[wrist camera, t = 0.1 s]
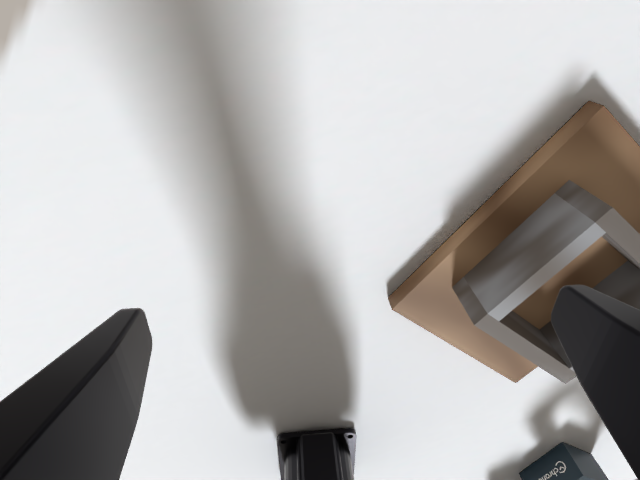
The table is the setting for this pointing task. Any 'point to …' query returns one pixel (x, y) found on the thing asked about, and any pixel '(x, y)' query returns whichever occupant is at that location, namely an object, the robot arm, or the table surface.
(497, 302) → the end holder
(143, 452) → the table surface
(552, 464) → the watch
